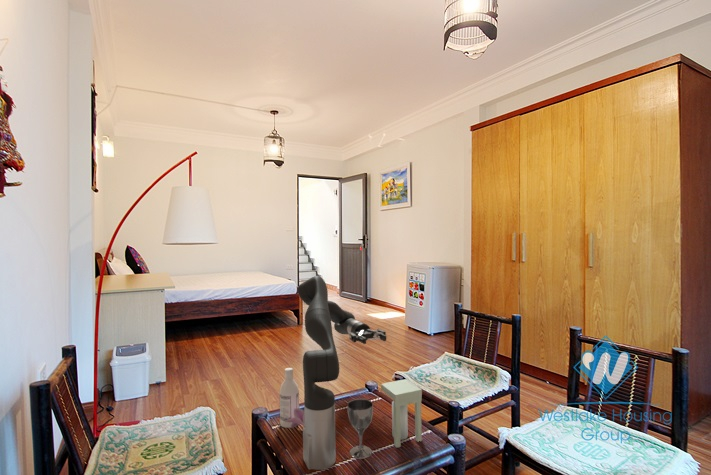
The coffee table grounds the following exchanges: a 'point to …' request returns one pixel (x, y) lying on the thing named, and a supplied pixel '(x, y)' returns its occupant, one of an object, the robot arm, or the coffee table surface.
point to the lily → (297, 418)
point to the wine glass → (360, 424)
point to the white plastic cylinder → (401, 421)
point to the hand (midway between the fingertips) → (375, 339)
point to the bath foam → (288, 398)
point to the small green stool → (404, 395)
